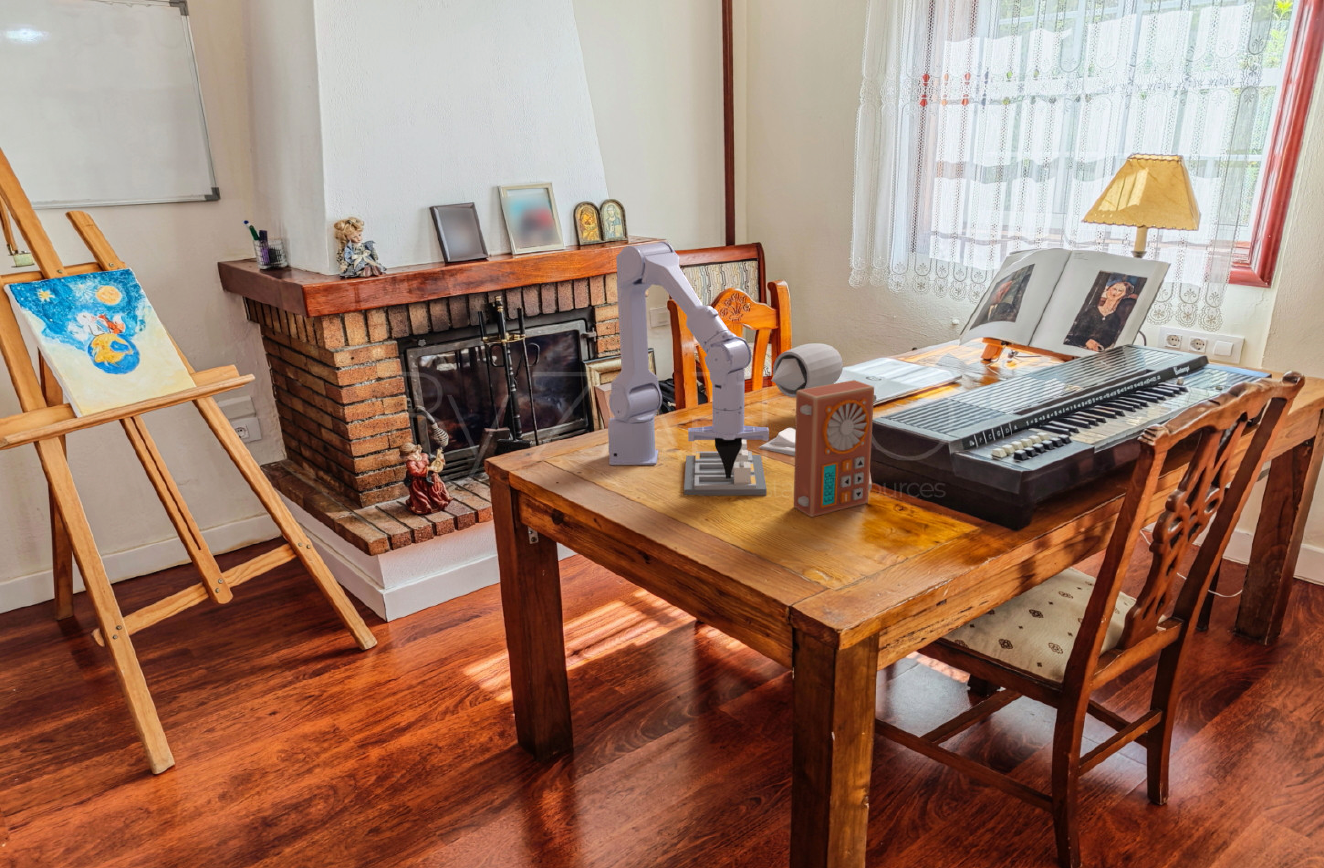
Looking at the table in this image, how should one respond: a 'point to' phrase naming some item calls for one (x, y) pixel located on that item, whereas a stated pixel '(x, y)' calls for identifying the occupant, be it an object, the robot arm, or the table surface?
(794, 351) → the jet engine
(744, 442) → the slider far
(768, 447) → the light switch
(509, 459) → the table surface
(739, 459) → the slider mid
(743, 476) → the slider near
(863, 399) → the control panel
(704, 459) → the switch unit
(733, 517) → the table surface
